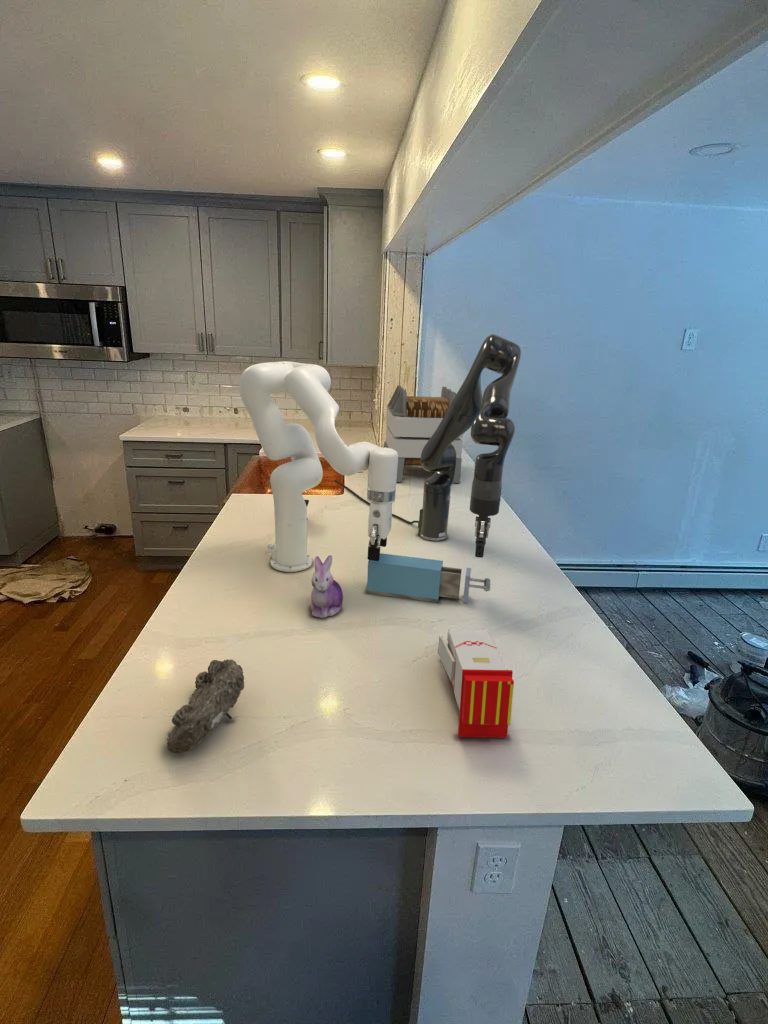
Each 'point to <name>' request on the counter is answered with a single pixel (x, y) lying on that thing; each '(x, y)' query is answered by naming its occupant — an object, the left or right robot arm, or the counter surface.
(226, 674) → the fossil
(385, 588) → the cabinet
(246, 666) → the counter surface
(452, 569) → the drawer
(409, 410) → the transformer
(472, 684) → the toy
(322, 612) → the figurine
